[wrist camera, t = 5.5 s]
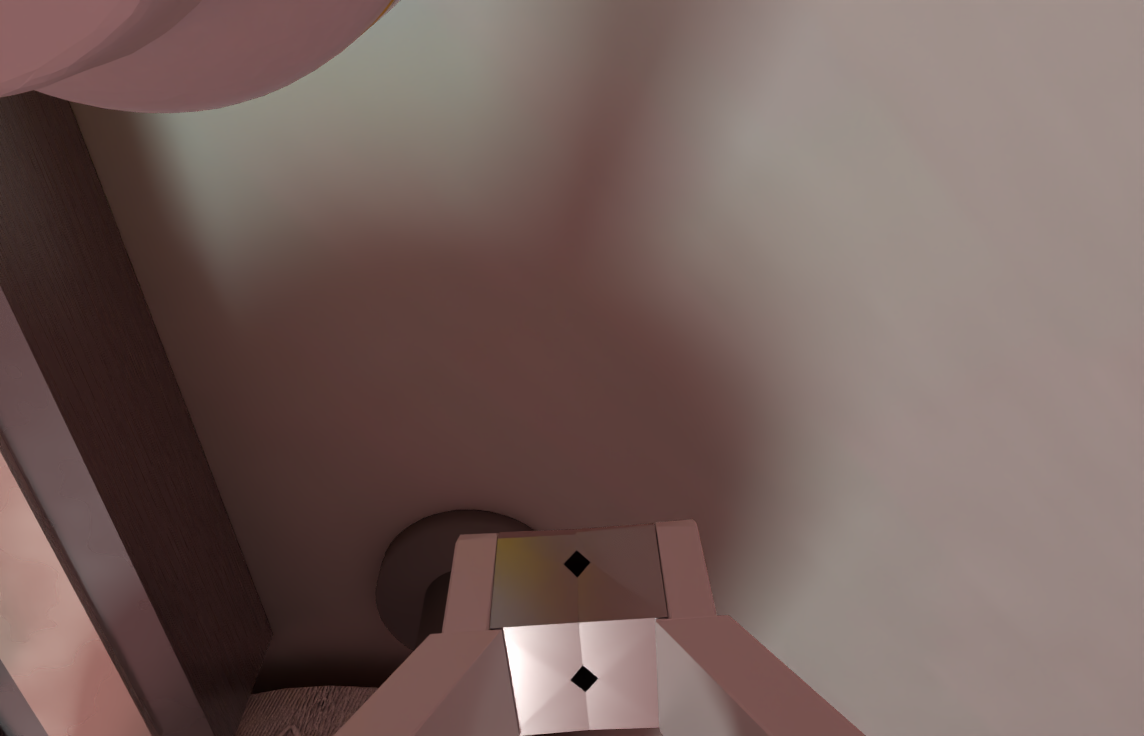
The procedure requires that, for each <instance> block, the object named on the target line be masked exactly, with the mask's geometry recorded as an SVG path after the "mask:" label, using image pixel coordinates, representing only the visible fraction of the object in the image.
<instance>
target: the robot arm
mask: <svg viewBox="0 0 1144 736" xmlns="http://www.w3.org/2000/svg"><path fill="white" fill-rule="evenodd" d="M630 728H660V732H661V733H662V735H663V736H865V735H864V734H863V733H862V732H861V731H860V730H859V729H857V728H856V727H855V726H854V725H853V724H852V723H851V722H850V721H848V720H847V719H846V718H845V717H844V716H843V715H842V714H840V713H839V712H838V711H837V710H836V709H835V708H834V707H833V706H831V705H830V704H829V703H828V702H827V701H826V700H825V699H823V698H822V697H821V696H820V695H819V694H818V693H817V692H816V691H814V690H813V689H812V688H811V687H810V686H809V685H808V684H806V683H805V682H804V681H803V680H802V679H801V678H800V677H798V676H797V675H796V674H795V673H794V672H793V671H792V670H791V669H789V668H788V667H787V666H786V665H785V664H784V663H783V662H781V661H780V660H779V659H778V658H777V657H776V656H775V655H774V654H772V653H771V652H770V651H769V650H768V649H767V648H766V647H764V646H763V645H762V644H761V643H760V642H759V641H758V640H757V639H755V638H754V637H753V636H752V635H751V634H750V633H749V632H747V631H746V630H745V629H744V628H743V627H742V626H741V625H740V624H738V623H737V622H736V621H735V620H734V619H733V618H732V617H730V616H729V615H722V616H717V614H716V609H715V605H714V600H713V595H712V591H711V586H710V582H709V577H708V572H707V568H706V563H705V558H704V554H703V549H702V544H701V540H700V535H699V530H698V526H697V523H696V522H695V521H694V520H693V519H688V520H677V521H665V522H655V524H653V523H650V524H636V525H622V526H609V527H595V528H582V529H563V530H540V531H517V532H500V533H499V534H498V533H489V534H465V535H460V536H459V538H458V540H457V542H456V544H455V550H454V557H453V563H452V570H451V576H450V583H449V589H448V595H447V602H446V608H445V615H444V621H443V628H442V633H439V634H430V635H429V636H428V637H427V638H426V639H425V640H424V641H423V642H422V643H421V644H420V645H419V646H418V647H417V648H416V649H415V650H414V651H413V652H412V653H411V655H410V656H409V657H408V658H407V659H406V660H405V661H404V662H403V663H402V664H401V665H400V666H399V667H398V668H397V669H396V670H395V671H394V672H393V673H392V675H391V676H390V677H389V678H388V679H387V680H386V681H385V682H384V683H383V684H382V685H381V686H380V687H379V688H378V689H377V690H376V691H375V692H374V693H373V694H372V696H371V697H370V698H369V699H368V700H367V701H366V702H365V703H364V704H363V705H362V706H361V707H360V708H359V709H358V710H357V711H356V712H355V713H354V714H353V715H352V717H351V718H350V719H349V720H348V721H347V722H346V723H345V724H344V725H343V726H342V727H341V728H340V729H339V730H338V731H337V732H336V733H335V734H334V735H333V736H525V735H536V734H548V733H559V732H570V731H581V730H589V729H590V730H600V729H630Z"/></svg>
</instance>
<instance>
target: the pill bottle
mask: <svg viewBox="0 0 1144 736" xmlns="http://www.w3.org/2000/svg"><path fill="white" fill-rule="evenodd" d="M399 1H400V0H0V97H6V96H11V95H16V94H20V93H24V92H28V91H32V90H35V91H38V92H41V93H44V94H47V95H50V96H54V97H57V98H61V99H64V100H68V101H72V102H77V103H81V104H86V105H91V106H95V107H100V108H105V109H113V110H121V111H130V112H141V113H180V112H195V111H203V110H210V109H218V108H222V107H226V106H230V105H234V104H238V103H241V102H244V101H248V100H251V99H255V98H258V97H261V96H264V95H267V94H269V93H271V92H274V91H276V90H278V89H281V88H283V87H285V86H288V85H290V84H291V83H293V82H295V81H297V80H299V79H300V78H302V77H304V76H306V75H308V74H309V73H311V72H313V71H315V70H316V69H318V68H319V67H321V66H322V65H323V64H325V63H326V62H328V61H329V60H331V59H332V58H334V57H335V56H336V55H338V54H339V53H341V52H342V51H343V50H344V49H345V48H347V47H348V46H349V45H350V44H351V43H352V42H354V41H355V40H356V39H357V38H358V37H360V36H361V35H362V34H363V33H364V32H365V31H366V30H368V29H369V28H370V27H371V26H372V25H374V24H375V23H376V22H377V21H378V20H379V19H381V18H382V17H383V16H384V15H385V14H386V13H387V12H389V11H390V10H391V9H392V8H393V7H394V6H395V5H396V4H397V3H398V2H399Z"/></svg>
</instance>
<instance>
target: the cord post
mask: <svg viewBox="0 0 1144 736" xmlns="http://www.w3.org/2000/svg"><path fill="white" fill-rule="evenodd" d="M517 531H534V530H533V529H531V528H530V527H528V526H526V525H525V524H523V523H521V522H519V521H517V520H514V519H512V518H509V517H507V516H503V515H500V514H496V513H491V512H486V511H476V510H458V511H450V512H444V513H440V514H436V515H432V516H430V517H427V518H424V519H422V520H420V521H418V522H416V523H414V524H412V525H411V526H409V527H408V528H406V529H405V530H404V531H403V532H401V533H400V534H399V535H398V536H397V537H396V538H395V539H394V541H393V542H392V543H391V544H390V546H389V548H388V549H387V551H386V553H385V556H384V559H383V561H382V565H381V569H380V573H379V577H378V581H377V586H376V604H377V609H378V612H379V614H380V617H381V619H382V621H383V622H384V624H385V626H386V627H387V628H388V630H389V631H390V632H391V633H392V634H393V635H394V636H395V637H396V638H397V639H398V640H399V641H400V642H401V643H403V644H404V645H405V646H407V647H408V648H410V649H412V650H413V651H414V650H415V649H416V648H417V647H418V646H419V645H420V644H421V643H422V642H423V641H424V640H425V639H426V638H427V637H428V636H429V635H430V634H439V633H442V628H443V621H444V615H445V608H446V602H447V595H448V589H449V583H450V576H451V570H452V563H453V557H454V550H455V544H456V542H457V540H458V538H459V536H460V535H465V534H489V533H498V534H499V533H500V532H517Z"/></svg>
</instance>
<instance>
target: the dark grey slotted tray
mask: <svg viewBox="0 0 1144 736" xmlns="http://www.w3.org/2000/svg"><path fill="white" fill-rule="evenodd" d="M272 636H273V633H272V631H271V628H270V625H269V623H268V620H267V618H266V615H265V612H264V610H263V607H262V605H261V602H260V599H259V597H258V594H257V592H256V589H255V586H254V584H253V581H252V578H251V576H250V573H249V571H248V568H247V565H246V563H245V560H244V558H243V555H242V552H241V550H240V547H239V545H238V542H237V539H236V537H235V534H234V532H233V529H232V526H231V524H230V521H229V519H228V516H227V513H226V511H225V508H224V505H223V503H222V500H221V498H220V495H219V492H218V490H217V487H216V485H215V482H214V479H213V477H212V474H211V472H210V469H209V466H208V464H207V461H206V459H205V456H204V453H203V451H202V448H201V446H200V443H199V440H198V438H197V435H196V433H195V430H194V427H193V425H192V422H191V419H190V417H189V414H188V412H187V409H186V406H185V404H184V401H183V399H182V396H181V393H180V391H179V388H178V386H177V383H176V380H175V378H174V375H173V373H172V370H171V367H170V365H169V362H168V360H167V357H166V354H165V352H164V349H163V346H162V344H161V341H160V339H159V336H158V333H157V331H156V328H155V326H154V323H153V320H152V318H151V315H150V313H149V310H148V307H147V305H146V302H145V300H144V297H143V294H142V292H141V289H140V287H139V284H138V281H137V279H136V276H135V273H134V271H133V268H132V266H131V263H130V260H129V258H128V255H127V253H126V250H125V247H124V245H123V242H122V240H121V237H120V234H119V232H118V229H117V227H116V224H115V221H114V219H113V216H112V214H111V211H110V208H109V206H108V203H107V200H106V198H105V195H104V193H103V190H102V187H101V185H100V182H99V180H98V177H97V174H96V172H95V169H94V167H93V164H92V161H91V159H90V156H89V154H88V151H87V148H86V146H85V143H84V141H83V138H82V135H81V133H80V130H79V127H78V125H77V122H76V120H75V117H74V114H73V112H72V109H71V107H70V104H69V101H68V100H64V99H61V98H57V97H54V96H50V95H47V94H44V93H41V92H38V91H35V90H32V91H28V92H24V93H20V94H16V95H11V96H6V97H0V736H235V735H236V732H237V729H238V727H239V724H240V721H241V719H242V716H243V713H244V711H245V708H246V705H247V703H248V700H249V697H250V695H251V692H252V689H253V687H254V684H255V681H256V679H257V676H258V673H259V671H260V668H261V665H262V662H263V660H264V657H265V654H266V652H267V649H268V646H269V644H270V641H271V638H272Z"/></svg>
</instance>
